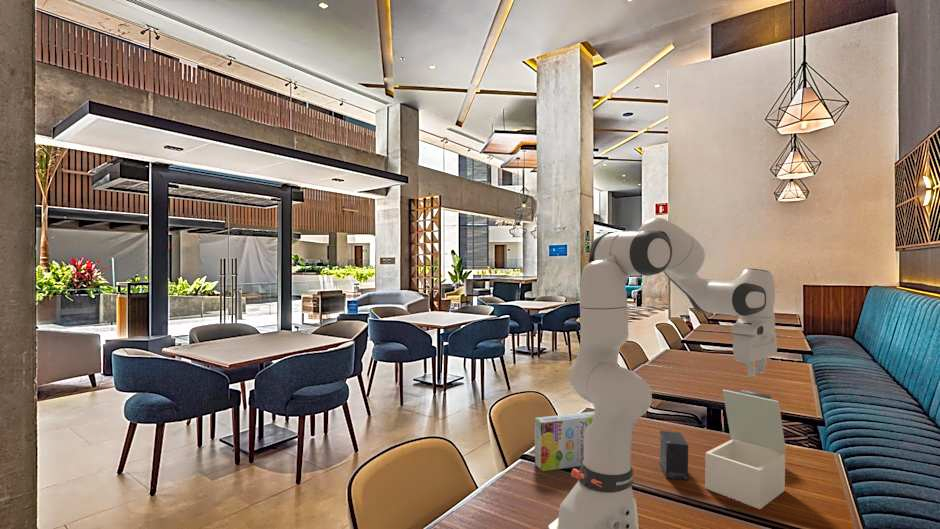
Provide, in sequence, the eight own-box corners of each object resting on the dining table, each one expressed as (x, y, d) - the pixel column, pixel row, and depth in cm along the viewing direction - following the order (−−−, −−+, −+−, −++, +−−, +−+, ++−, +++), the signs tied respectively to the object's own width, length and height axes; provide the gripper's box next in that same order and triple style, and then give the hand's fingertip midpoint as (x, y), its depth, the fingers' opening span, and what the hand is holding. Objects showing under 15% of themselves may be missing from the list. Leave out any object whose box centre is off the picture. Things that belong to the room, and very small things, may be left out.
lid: (777, 402, 127) (784, 393, 130) (722, 390, 139) (729, 382, 142) (785, 453, 131) (791, 444, 134) (730, 438, 142) (737, 429, 145)
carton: (759, 509, 122) (760, 470, 122) (705, 488, 133) (705, 452, 133) (784, 490, 131) (785, 454, 131) (731, 472, 143) (731, 439, 142)
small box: (689, 480, 138) (689, 444, 137) (665, 478, 139) (665, 443, 139) (681, 465, 148) (681, 431, 148) (658, 463, 149) (658, 430, 149)
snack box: (595, 456, 154) (594, 410, 154) (604, 464, 149) (604, 416, 149) (534, 464, 149) (533, 416, 149) (541, 472, 144) (541, 422, 143)
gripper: (760, 321, 145) (759, 367, 145) (728, 327, 132) (728, 377, 132) (783, 324, 139) (783, 371, 140) (753, 330, 127) (752, 382, 127)
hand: (756, 374), depth 136 cm, fingers open, 4 cm apart
